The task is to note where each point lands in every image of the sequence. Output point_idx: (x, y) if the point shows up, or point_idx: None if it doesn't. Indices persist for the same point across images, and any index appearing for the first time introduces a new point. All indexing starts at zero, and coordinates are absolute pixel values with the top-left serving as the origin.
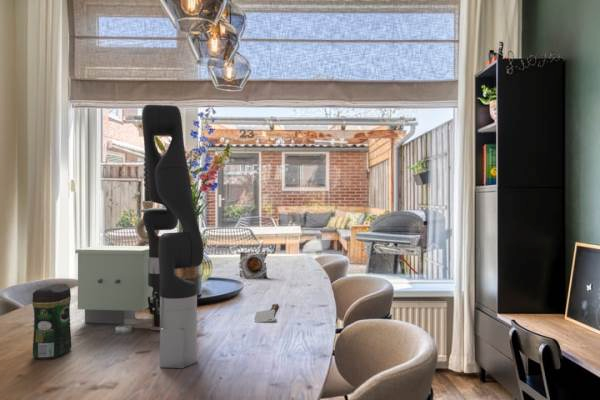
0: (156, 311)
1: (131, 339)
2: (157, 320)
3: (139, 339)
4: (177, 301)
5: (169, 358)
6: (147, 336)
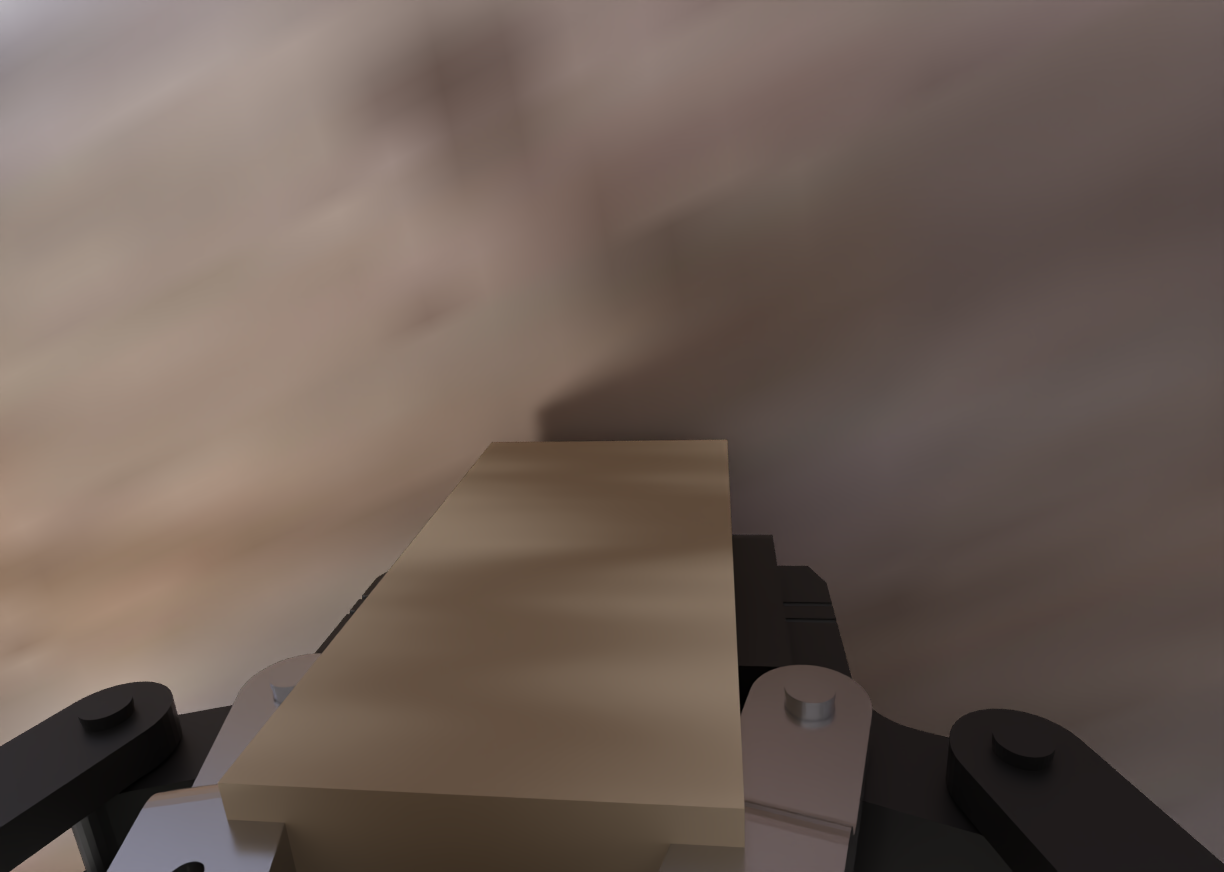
0: (1137, 811)
1: (1145, 768)
2: (838, 641)
3: (1149, 660)
4: None
5: None
6: (974, 604)
